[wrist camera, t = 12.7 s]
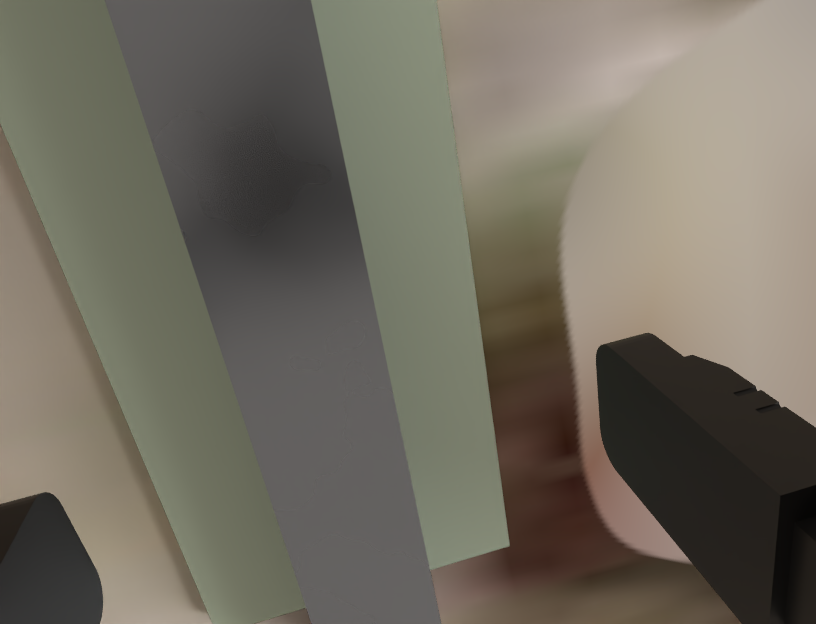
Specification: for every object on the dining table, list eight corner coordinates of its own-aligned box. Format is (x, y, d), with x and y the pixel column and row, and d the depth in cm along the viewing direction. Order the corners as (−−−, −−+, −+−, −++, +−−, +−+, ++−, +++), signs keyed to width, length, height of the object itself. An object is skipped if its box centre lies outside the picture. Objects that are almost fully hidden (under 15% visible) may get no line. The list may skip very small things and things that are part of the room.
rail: (17, -379, 10) (-79, -551, 7) (211, -398, 10) (191, -566, 7) (342, 658, 19) (355, 755, 17) (434, 628, 20) (461, 719, 17)
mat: (400, -211, 12) (406, -223, 11) (502, 532, 20) (509, 546, 19) (-99, -145, 11) (-119, -155, 10) (218, 617, 19) (216, 635, 18)
